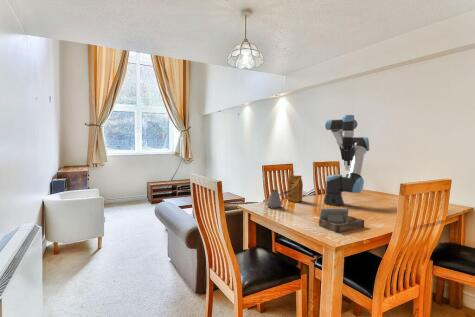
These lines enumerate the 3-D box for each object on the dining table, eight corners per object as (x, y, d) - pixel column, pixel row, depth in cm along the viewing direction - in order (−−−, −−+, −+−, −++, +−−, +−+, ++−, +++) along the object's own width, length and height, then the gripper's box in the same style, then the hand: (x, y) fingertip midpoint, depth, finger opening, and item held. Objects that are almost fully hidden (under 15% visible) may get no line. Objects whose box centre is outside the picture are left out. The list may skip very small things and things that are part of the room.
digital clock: (346, 224, 154) (347, 206, 153) (349, 229, 145) (350, 210, 144) (318, 222, 157) (318, 205, 156) (319, 227, 148) (320, 209, 148)
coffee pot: (263, 207, 195) (263, 187, 194) (272, 204, 203) (272, 185, 202) (287, 212, 180) (287, 191, 179) (296, 209, 188) (296, 189, 187)
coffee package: (291, 198, 225) (292, 173, 223) (304, 201, 216) (304, 175, 214) (284, 200, 218) (285, 174, 216) (297, 203, 209) (297, 176, 207)
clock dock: (318, 225, 150) (318, 219, 150) (344, 220, 161) (344, 214, 160) (337, 233, 138) (337, 225, 138) (364, 226, 149) (364, 220, 149)
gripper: (336, 137, 186) (335, 169, 187) (352, 136, 174) (351, 171, 175) (343, 137, 189) (343, 169, 190) (359, 136, 178) (358, 170, 179)
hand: (347, 170), depth 183 cm, fingers closed
